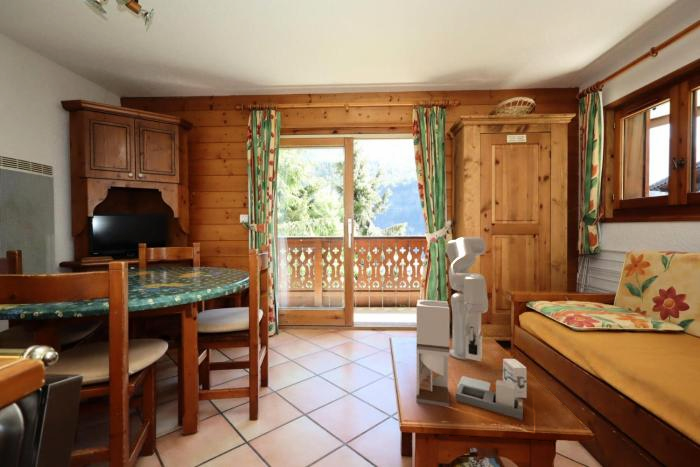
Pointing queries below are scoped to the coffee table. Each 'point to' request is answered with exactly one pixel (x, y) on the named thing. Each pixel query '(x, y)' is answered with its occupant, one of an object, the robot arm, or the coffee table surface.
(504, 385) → the off-white rectangular block
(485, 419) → the coffee table surface
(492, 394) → the power strip
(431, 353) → the display case
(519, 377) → the ink box
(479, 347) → the plug
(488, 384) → the mat
